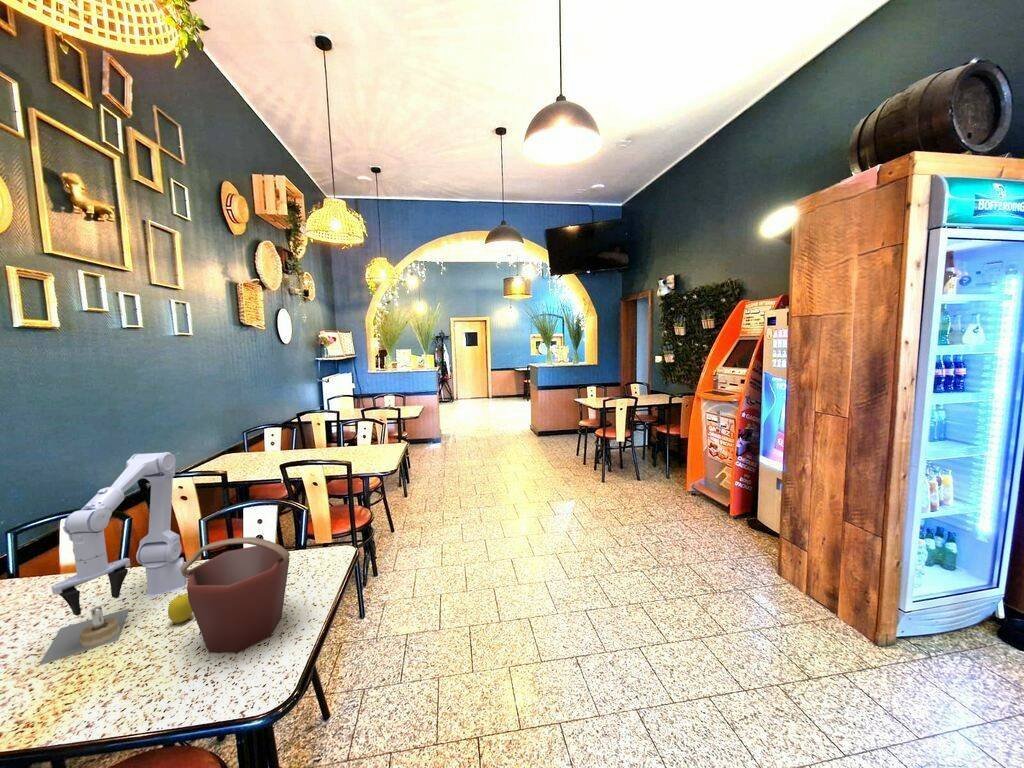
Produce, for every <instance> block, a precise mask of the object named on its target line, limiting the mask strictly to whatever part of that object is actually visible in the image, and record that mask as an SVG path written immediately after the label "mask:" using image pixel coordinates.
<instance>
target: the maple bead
mask: <svg viewBox="0 0 1024 768" xmlns="http://www.w3.org/2000/svg"><path fill="white" fill-rule="evenodd" d="M104 625H105V627H104V628H102V629H99V630H96V631H94V627H93V624H90V625H88V626H87V627H85V628H84V629H83V630H81V632H80V641H81V645H82V646H83V647H91V646H95V645H99V644H102V643H104V642H106V641H108V640H110V639H112V638H113V637H115V636H116V635H117V634H118V633H119V631H120V627H119V619H117V618H107V619H104Z"/></svg>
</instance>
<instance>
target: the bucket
mask: <svg viewBox="0 0 1024 768" xmlns="http://www.w3.org/2000/svg"><path fill="white" fill-rule="evenodd" d="M243 544H244V545H247V544H248V545H251V546H249V547H244V548H243V547H242V548H239V549H234V550H227V551H224V552H222V553H220V554H218V555H216V556H214V557H213V558H211V559H209V560H206V561H204V562H203V563H200V564H199V565H197V566H195V567H192V568H191V569H189V567H191V566H192V565H193V564H194V563H195V562H196V561H197V560H198V559H199V558H200V556H201V555H202V554H203V553H204V552H206V551H209V550H212V549H216V548H218V547H219V548H220V547H224V546H229V545H230V546H231V545H243ZM290 555H291V554H290V551H289V550H287V549H286V548H284V546H282V545H280V544H278V543H276V542H273V541H271V540H268V539H263V538H259V537H255V536H254V537H253V536H250V537H249V536H248V537H247V536H245V537H233V538H227V539H221V540H218V541H214V542H211V543H209V544H205V545H203V546H202V547H200V548H199V549H198V550H197V551H196V552H195V553H194V555H193V556H192V557H191V558H190V559H189V560H188V561H185V562H184V564H183V565H182V566H181V573H182V575H183V576H184V577H186V579H187V585H186V590H187V596H188V600H189V603H190V606H191V608H192V611H193V612H192V614H193V615H194V619H195V621H196V624H197V626H198V628H199V632H200V634H201V638H202V640H203V642H204V645H205V647H206V649H207V652H208V654H239V653H240V652H243V651H244V650H246V649H248V648H250V647H253V646H255V645H256V644H258V643H261V642H263V641H265V640H266V639H269V638H270V637H272V636H273V634H274V632H275V630H276V628H277V627H278V625H279V623H280V622H281V620H282V619H283V611H284V603H285V597H286V587H287V580H288V573H289V565H290Z"/></svg>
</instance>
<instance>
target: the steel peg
mask: <svg viewBox="0 0 1024 768" xmlns="http://www.w3.org/2000/svg"><path fill="white" fill-rule="evenodd" d="M90 616H91V619H92V621H93V627H94V631H96V630H99V629H102V628H104V627H105V625H104V619H103V616H104V613H103V609H102V606H101V605H100V606H99V605H98V606H95V607H93V608H91V609H90Z"/></svg>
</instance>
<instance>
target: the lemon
mask: <svg viewBox="0 0 1024 768" xmlns="http://www.w3.org/2000/svg"><path fill="white" fill-rule="evenodd" d="M192 614H193V611H192V608H191V606H190V603H189V600H188V594H187V595H186V594H178V595H177V596H176V597H174V598H173V599H172V600H171V601H170V602H169V605H168V608H167V616H168V618H169V620H170V621H171V622H173V623H176V624H177V623H183V622H185V621H186V620H188V619H189V618H190V617H191V616H192Z"/></svg>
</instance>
